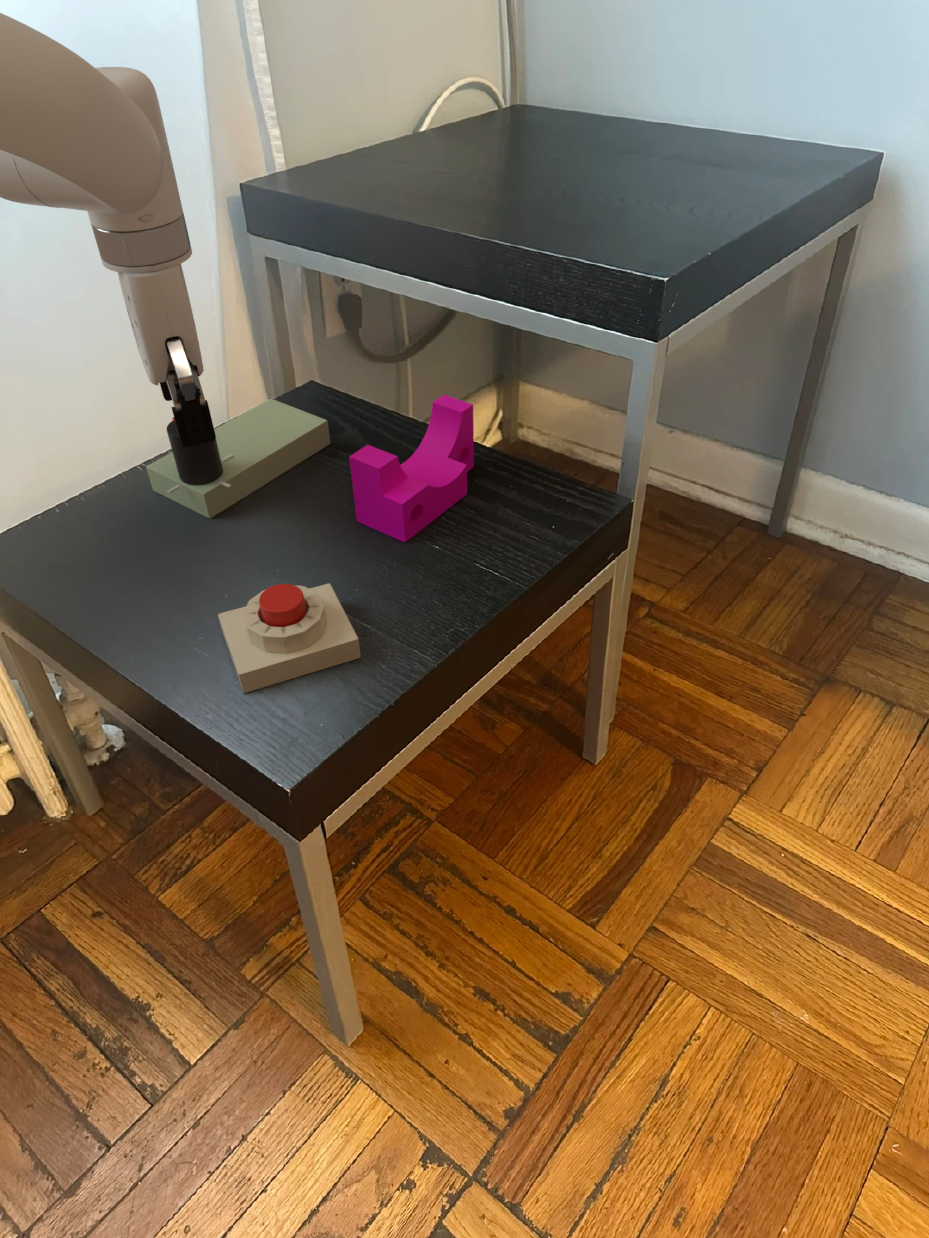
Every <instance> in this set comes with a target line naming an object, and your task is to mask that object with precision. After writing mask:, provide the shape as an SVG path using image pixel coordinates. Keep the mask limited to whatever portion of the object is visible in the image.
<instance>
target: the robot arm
mask: <svg viewBox="0 0 929 1238" xmlns="http://www.w3.org/2000/svg"><path fill="white" fill-rule="evenodd" d="M168 141H169V140H168V138H167V131H166V129H165V124H164V119H163V115H162V110H161V107H160V101H159V98H158V94H157V91H156V88H155V86H154V83H153V82H152V80H151V78H149V77H148V76H147V74H145V73H144V72H142V71H141V70H138V69H135V68H132V67H126V66H101V67H94V66H93V65H92V64H91V63H90V62H88V61H87V60H86V59H85V58H82V57H81V56H80V55H79V54H77V53H76V52H74V51H72V50H71V49H69V48H68V47H66V46H65V45H63V44H62V43H60V42H59V41H57V40H55V39H54V38H51V37H50V36H49V35H46V34H45V33H42V32H41V31H39V30H36V29H35V28H33V27H31V26H29V25H27V24H25V23H24V22H21V21H19V20H17V19H15V18H13V17H10V16H8V15H7V14H4V13H2V12H0V198H1V199H3V200H6V201H9V202H12V203H18V204H21V205H22V204H25V205H29V206H30V205H31V206H39V207H46V208H47V207H48V208H56V209H68V210H76V211H85V212H87V215H88V218H89V222H90V225H91V229H92V232H93V236H94V239H95V242H96V246H97V249H98V253H99V256H100V260H101V263H102V266H103V267H104V268H105V269H108V270H109V271H112V272H115V273H117V275H118V282H119V285H120V289H121V293H122V297H123V301H124V304H125V308H126V311H127V315H128V318H129V322H130V326H131V329H132V333H133V336H134V339H135V343H136V347H137V350H138V355H139V357H140V360H141V363H142V365H143V368H144V371H145V374H146V377H147V379H148V381H149V382H150V383H151V384H152V385H154V386H160V390H161V393H162V397H163V399H164V400H165V401H167V402H170V401H172V404H173V406H171V411H172V414H173V417H174V419H175V422H176V426H177V430H178V433H179V437H180V441H181V444H182V446H183V447H190V446H194V445H199V444H203V443H208V442H212V441H214V440H215V439H216V435H215V431H214V429H215V427H214V423H213V419H212V415H211V410H210V406H209V402H208V400H207V399H206V397H205V394H204V391H203V388H202V385H201V381H200V377H201V376H202V375H203V373H204V372H205V371H204V364H203V357H202V352H201V347H200V346H201V345H200V342H199V337H198V332H197V326H196V323H195V319H194V318H195V317H194V314H193V309H192V304H191V299H190V296H189V291H188V287H187V283H186V277H185V275H184V271H183V270H184V269H183V265H182V264H183V263H185V262H187V261H188V260H189V259H190V258H191V257H192V255H193V248H192V245H191V240H190V235H189V231H188V227H187V222H186V218H185V214H184V213H185V212H184V210H183V205H182V201H181V196H180V192H179V186H178V183H177V178H176V173H175V169H174V164H173V161H172V156H171V151H170V146H169V142H168Z"/></svg>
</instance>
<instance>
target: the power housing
mask: <svg viewBox="0 0 929 1238" xmlns="http://www.w3.org/2000/svg"><path fill="white" fill-rule="evenodd" d="M293 585H294V584H293ZM294 586H297V587H298V588H300V589H301V591H302V592H303V596H304V601H305V607H306V614H305V616H304V618H303V619H302V620H301V621H300V622H298V623H297V624H294V625H290V626H287V627H272V626H270V625H268V624H267V623H265V621H264V620H263V618H262V613H261V609H260V605H259V598H260V595H261V594H262V593H263V592H264V591H265V590H266V589H263V590H262V591H260V592H259V593H257V594H256V595H255V596H254V597H252V598H250V599H249V600H248V602H247V604H246V606H242V607H238V608H235V609H231V610H227V611H223V612H220V613H217V617H218V620H219V621H218V622H219V624H220V628H221V631H222V635H223V638H224V641H225V644H226V646H227V650H228V653H229V656H230V658H231V661H232V664H233V667H234V670H235V673H236V676H237V679H238V682H239V684H240V688H241V691H242V693H243V694H247V693H250V692H253V691H257V690H260V689H263V688H266V687H269V686H272V685H276V684H279V683H283V682H286V681H289V680H292V679H296V678H299V677H303V676H305V675H306V676H307V675H309V674H312V673H315V672H319V671H322V670H325V669H328V668H331V667H335V666H338V665H342V664H346V663H348V662H351V661H355V660H358V659H361V658H362V656H361V654H362V653H361V647H360V639H359V636H358V635H357V633H356V631H355V629H354V627H353V626H352V623H351V621H350V620H349V617H348V615H347V614H346V611H345V610H344V607H343V605H342V604H341V601H340V600H339V598H338V596H337V595H336V592H335V590H334V588H333V586H332V584H331V583H330V582H329V583H325V584H322V585H318V586H314V587H310V588H309V587H307V586H305V585H296V584H295V585H294Z"/></svg>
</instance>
